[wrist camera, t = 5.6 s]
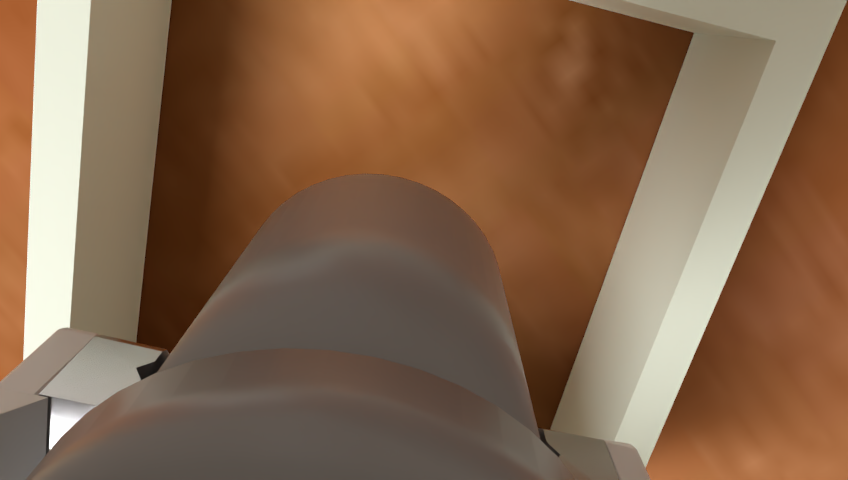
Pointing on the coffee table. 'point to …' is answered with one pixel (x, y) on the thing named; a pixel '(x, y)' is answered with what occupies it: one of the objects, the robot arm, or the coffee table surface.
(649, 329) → the frame
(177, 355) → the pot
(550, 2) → the coffee table surface
